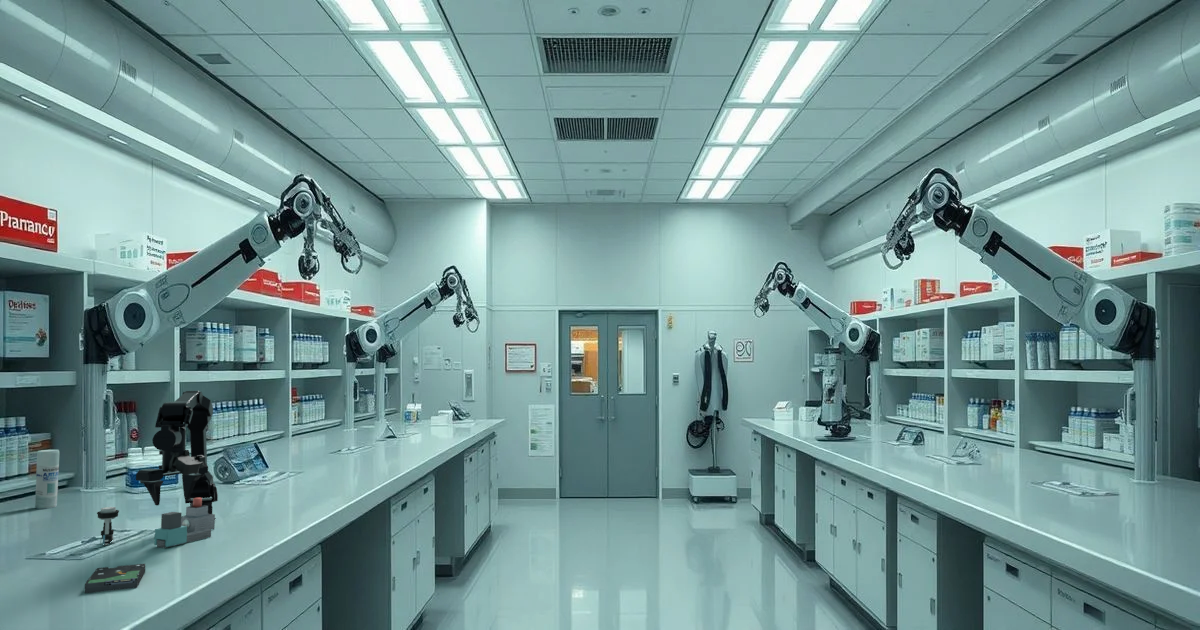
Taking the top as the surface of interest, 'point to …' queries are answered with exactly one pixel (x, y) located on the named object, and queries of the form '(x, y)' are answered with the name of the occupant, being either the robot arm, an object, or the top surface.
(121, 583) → the disk drive
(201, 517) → the grey piece
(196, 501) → the plunger
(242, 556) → the top surface
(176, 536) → the carriage
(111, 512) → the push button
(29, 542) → the top surface
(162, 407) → the robot arm
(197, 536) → the rail
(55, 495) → the spray paint can
